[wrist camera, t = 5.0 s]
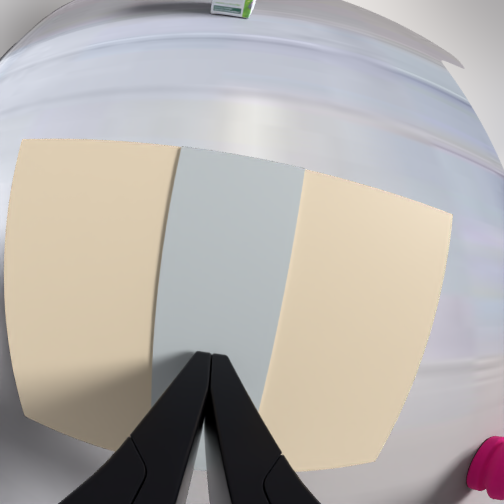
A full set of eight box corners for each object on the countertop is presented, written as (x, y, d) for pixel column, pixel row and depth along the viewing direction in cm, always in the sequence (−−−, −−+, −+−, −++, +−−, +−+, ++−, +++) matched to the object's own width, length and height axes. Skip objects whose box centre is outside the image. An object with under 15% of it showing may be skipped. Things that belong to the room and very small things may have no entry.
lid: (367, 450, 9) (375, 462, 8) (33, 406, 8) (23, 417, 7) (438, 215, 9) (454, 214, 8) (34, 145, 7) (20, 138, 6)
